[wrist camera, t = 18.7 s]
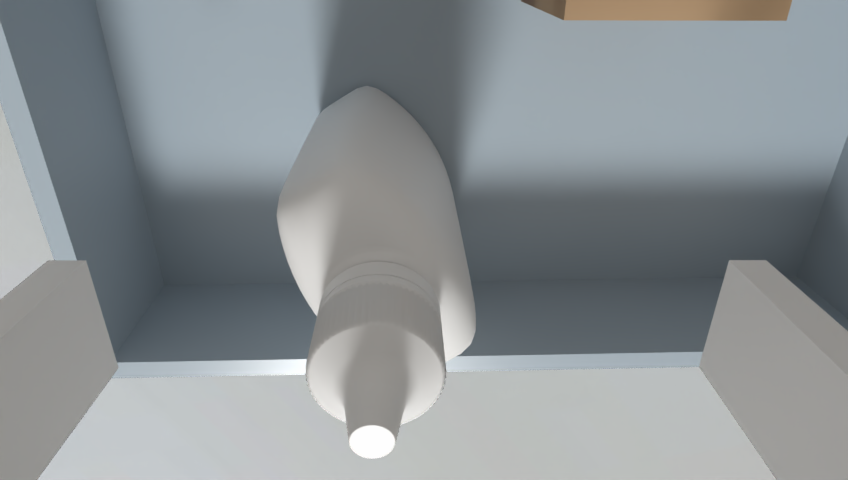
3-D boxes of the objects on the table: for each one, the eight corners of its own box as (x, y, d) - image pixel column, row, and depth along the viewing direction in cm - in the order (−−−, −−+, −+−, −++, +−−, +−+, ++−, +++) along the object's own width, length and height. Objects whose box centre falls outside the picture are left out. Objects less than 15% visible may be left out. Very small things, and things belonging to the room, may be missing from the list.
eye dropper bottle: (333, 242, 20) (257, 566, 10) (314, 84, 18) (180, 289, 7) (454, 236, 20) (511, 552, 10) (452, 78, 18) (527, 272, 7)
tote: (1003, -286, 15) (1266, -389, 10) (797, 281, 22) (894, 363, 18) (7, -306, 14) (-181, -427, 9) (157, 290, 22) (94, 378, 17)
